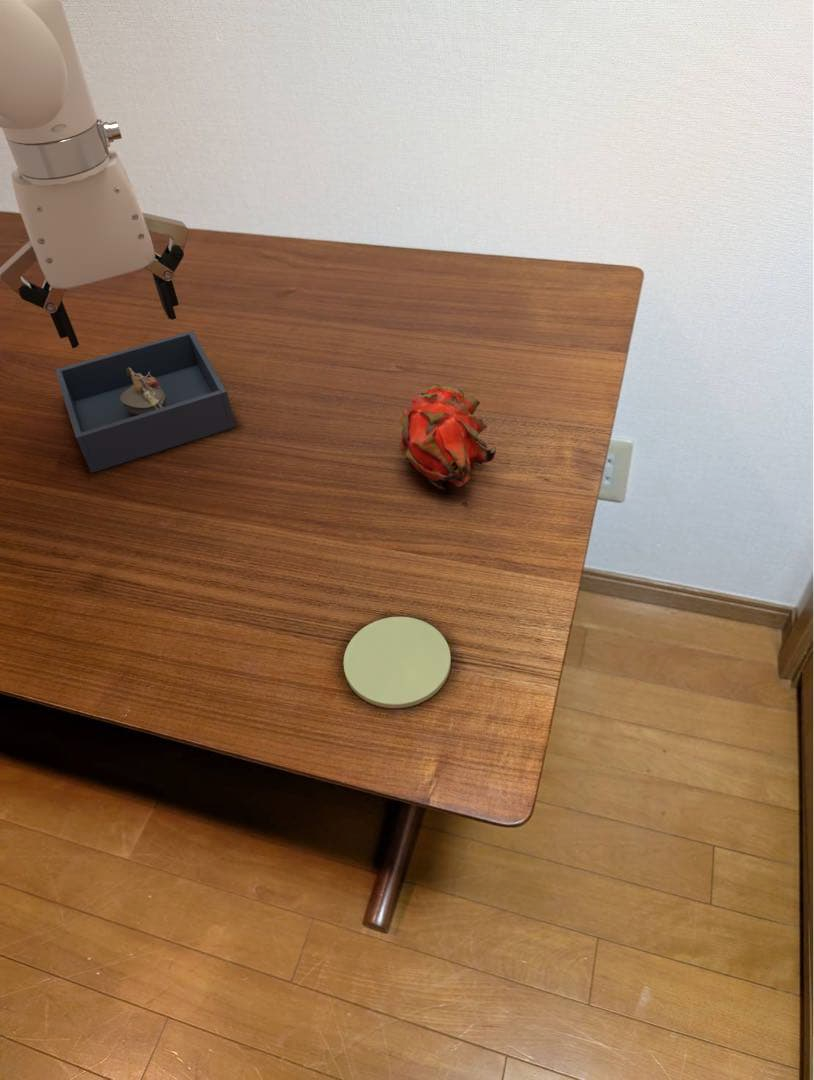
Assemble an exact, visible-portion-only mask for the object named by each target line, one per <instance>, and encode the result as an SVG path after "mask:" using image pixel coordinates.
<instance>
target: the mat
mask: <svg viewBox="0 0 814 1080" xmlns="http://www.w3.org/2000/svg"><path fill="white" fill-rule="evenodd" d="M451 656H452V655H451V650H450V646H449V644H448V642H447V640H446V638H445V637H444V635H442V633H441V632H440V631H439V630H438V629H437V628H435V627H434V626H433V625H431V624H429V623H428V622H426V621H424V620H421V619H419V618H418V619H417V618H415V617H411V616H389V617H385V618H381V619H378V620H375V621H373V622H371V623H368V624H367V625H365V626H364V627H362V628H361V629H360V630H358V632H357V633H355V634H354V636H353V637H352V638H351V639H350V641H349V642H348V644H347V646H346V649H345V650H344V654H343V671H344V676H345V679H346V682H347V684H348V685H349V687H350V689H351V690H352V691H353V692H354V693H355V694H356V696H358V697H359V698H360V699H362V700H363V701H365V702H367V703H369V704H371V705H374V706H377V707H381V708H386V709H404V708H409V707H410V708H411V707H413V706H416V705H419V704H422V703H423V702H426V701H427V700H429V699H430V698H432V697H433V696H434V695H436V694H437V693H438V692H439V691H440V689H441V688H443V686H444V685H445V683H446V681H447V679H448V678H449V675H450V671H451V667H452V661H451V660H452V659H451Z"/></svg>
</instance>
